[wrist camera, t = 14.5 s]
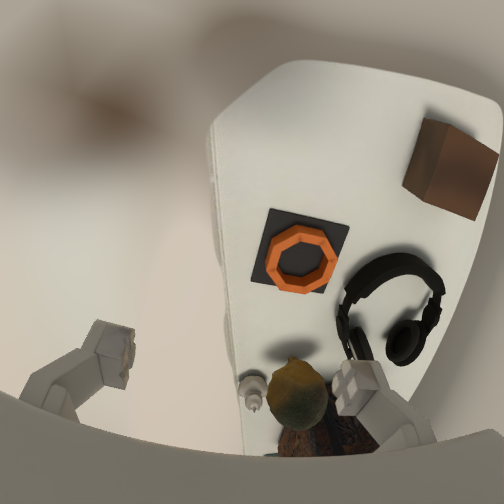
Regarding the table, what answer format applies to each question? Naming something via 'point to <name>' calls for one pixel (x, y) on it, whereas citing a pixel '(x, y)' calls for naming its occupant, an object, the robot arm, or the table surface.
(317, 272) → the ring
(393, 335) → the headphones
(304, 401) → the decorative stone
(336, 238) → the mat
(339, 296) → the table surface
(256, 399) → the tiered spinning top
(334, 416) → the decorative box
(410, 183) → the block
